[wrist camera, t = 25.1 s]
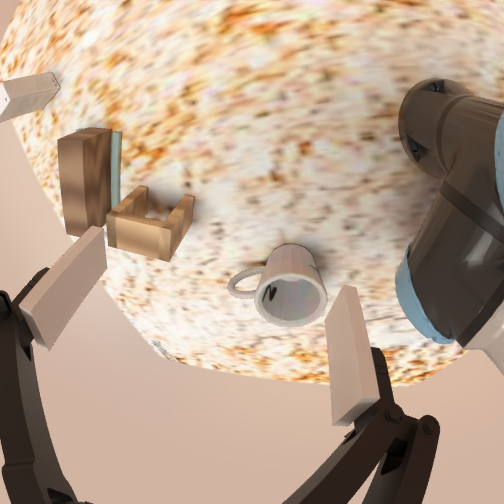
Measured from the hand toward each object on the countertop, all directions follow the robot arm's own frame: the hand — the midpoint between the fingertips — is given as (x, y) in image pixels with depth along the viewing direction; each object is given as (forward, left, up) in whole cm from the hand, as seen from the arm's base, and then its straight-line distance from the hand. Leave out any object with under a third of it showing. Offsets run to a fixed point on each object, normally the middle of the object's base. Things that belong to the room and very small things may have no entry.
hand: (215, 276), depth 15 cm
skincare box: (-6, -39, -29) cm, 49 cm away
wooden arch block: (+12, -13, -29) cm, 34 cm away
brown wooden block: (+9, -26, -29) cm, 40 cm away
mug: (+18, +7, -29) cm, 35 cm away
